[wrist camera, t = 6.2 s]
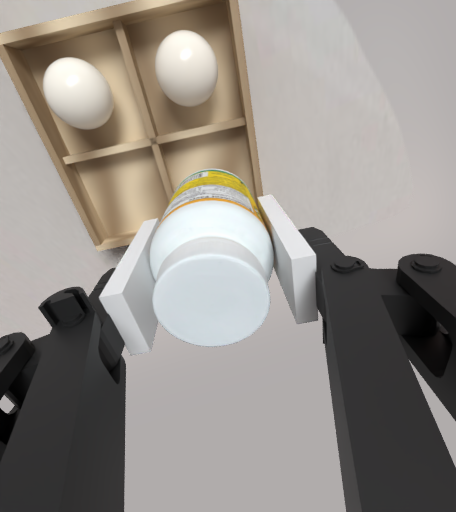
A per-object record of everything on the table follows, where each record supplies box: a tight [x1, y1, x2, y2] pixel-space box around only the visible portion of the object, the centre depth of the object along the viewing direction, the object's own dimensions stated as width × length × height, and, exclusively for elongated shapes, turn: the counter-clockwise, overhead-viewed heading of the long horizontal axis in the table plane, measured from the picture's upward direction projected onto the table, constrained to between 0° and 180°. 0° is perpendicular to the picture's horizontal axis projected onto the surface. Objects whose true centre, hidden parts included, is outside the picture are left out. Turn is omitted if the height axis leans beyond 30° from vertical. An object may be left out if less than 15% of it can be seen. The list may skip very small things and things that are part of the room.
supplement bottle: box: [150, 169, 274, 347], centre depth 13 cm, size 5×5×10 cm
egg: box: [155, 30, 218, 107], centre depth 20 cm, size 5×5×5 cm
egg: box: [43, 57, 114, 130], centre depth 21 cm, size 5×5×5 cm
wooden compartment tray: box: [0, 0, 263, 251], centre depth 24 cm, size 18×18×3 cm
